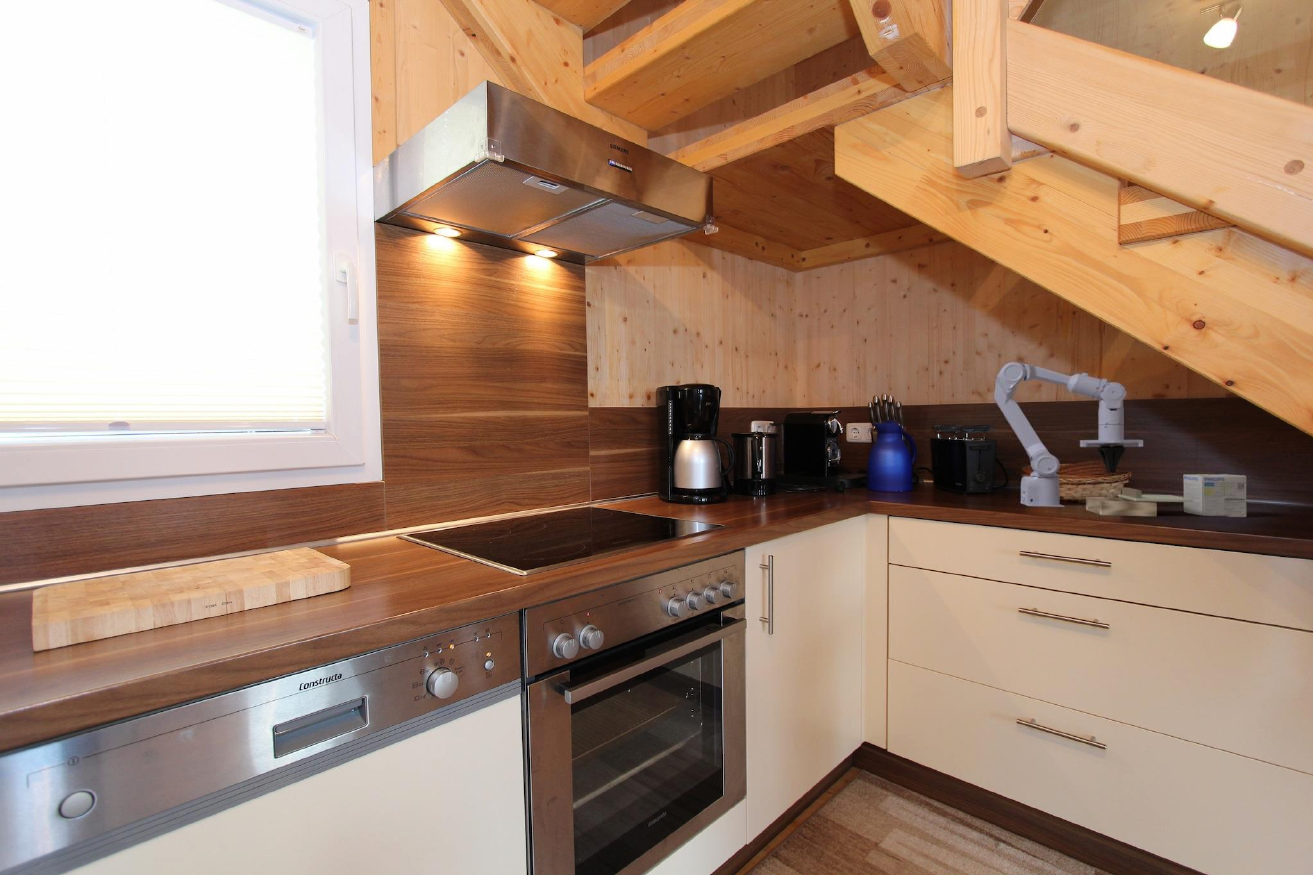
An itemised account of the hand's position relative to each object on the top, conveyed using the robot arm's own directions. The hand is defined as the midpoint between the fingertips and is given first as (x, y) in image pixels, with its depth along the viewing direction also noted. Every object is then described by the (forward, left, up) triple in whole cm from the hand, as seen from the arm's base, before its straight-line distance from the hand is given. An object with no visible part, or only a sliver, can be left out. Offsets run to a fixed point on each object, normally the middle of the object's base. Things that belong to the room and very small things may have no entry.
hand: (1111, 472), depth 168 cm
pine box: (-3, -12, -10) cm, 16 cm away
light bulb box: (+19, -9, -11) cm, 24 cm away
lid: (+5, -12, -6) cm, 15 cm away
